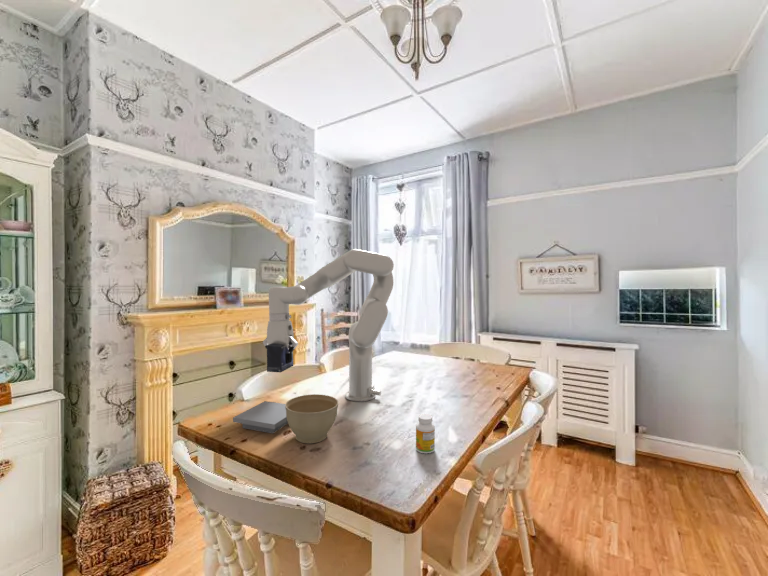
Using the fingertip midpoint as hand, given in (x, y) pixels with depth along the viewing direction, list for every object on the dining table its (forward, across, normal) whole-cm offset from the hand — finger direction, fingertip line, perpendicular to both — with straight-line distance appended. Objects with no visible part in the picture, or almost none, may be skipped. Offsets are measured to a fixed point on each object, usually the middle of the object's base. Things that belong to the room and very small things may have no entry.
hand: (280, 361), depth 137 cm
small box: (+3, 0, 0) cm, 3 cm away
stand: (+16, -8, +18) cm, 26 cm away
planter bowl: (+17, -27, +23) cm, 39 cm away
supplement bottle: (+18, -62, +19) cm, 67 cm away
